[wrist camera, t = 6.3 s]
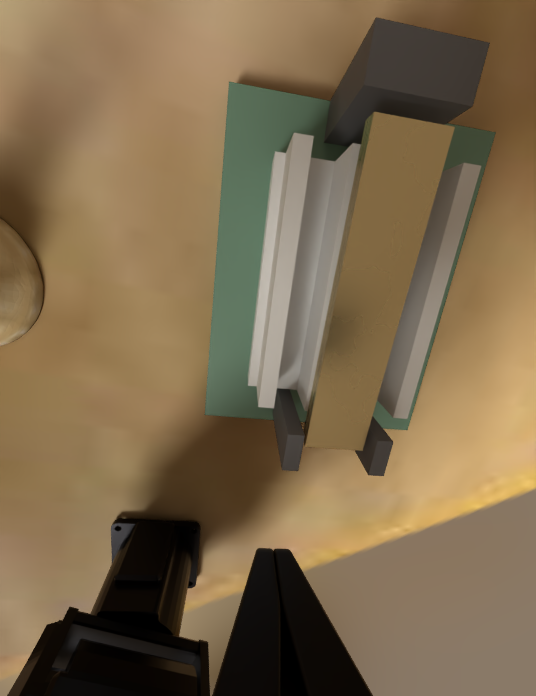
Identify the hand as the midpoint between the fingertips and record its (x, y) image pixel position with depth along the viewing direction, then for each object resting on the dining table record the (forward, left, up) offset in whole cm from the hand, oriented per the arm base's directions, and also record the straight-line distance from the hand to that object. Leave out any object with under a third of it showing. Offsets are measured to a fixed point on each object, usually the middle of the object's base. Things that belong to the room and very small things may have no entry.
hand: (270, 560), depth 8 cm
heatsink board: (+6, -4, -13) cm, 15 cm away
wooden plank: (+6, -4, -8) cm, 10 cm away
